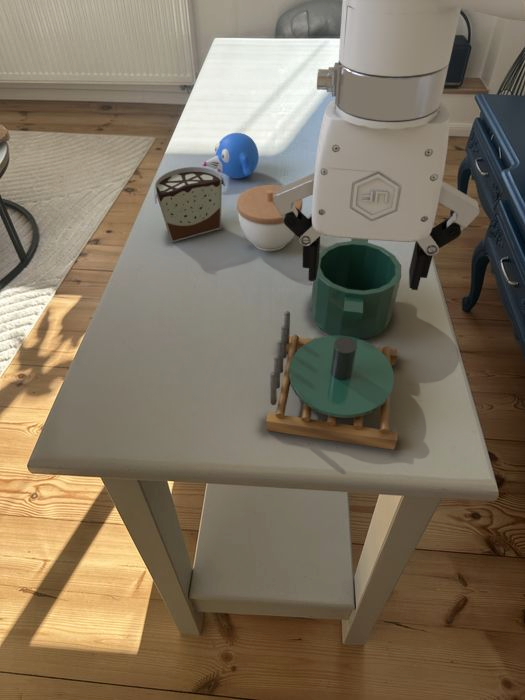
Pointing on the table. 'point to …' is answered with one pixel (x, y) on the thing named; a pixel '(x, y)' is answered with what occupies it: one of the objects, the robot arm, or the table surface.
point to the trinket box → (263, 218)
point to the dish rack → (305, 424)
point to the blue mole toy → (235, 156)
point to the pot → (355, 289)
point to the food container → (190, 201)
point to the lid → (341, 376)
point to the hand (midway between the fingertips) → (362, 276)
